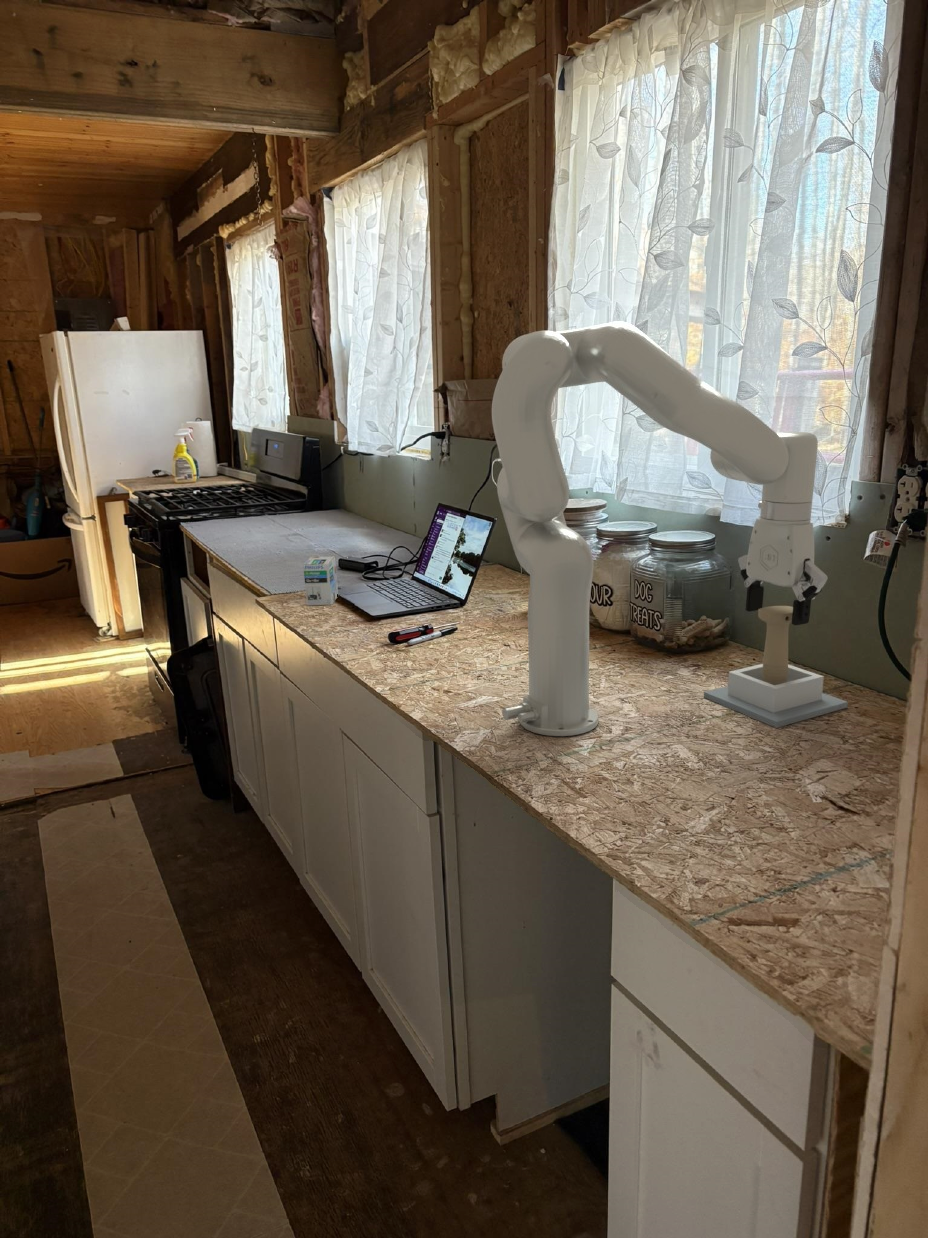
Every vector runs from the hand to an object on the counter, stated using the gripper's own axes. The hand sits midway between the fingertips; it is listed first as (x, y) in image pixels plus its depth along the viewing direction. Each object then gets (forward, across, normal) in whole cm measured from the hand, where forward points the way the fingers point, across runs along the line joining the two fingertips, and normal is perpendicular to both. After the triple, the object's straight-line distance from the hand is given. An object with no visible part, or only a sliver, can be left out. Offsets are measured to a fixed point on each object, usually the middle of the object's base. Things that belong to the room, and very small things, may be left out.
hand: (776, 616), depth 142 cm
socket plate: (+15, 0, +1) cm, 15 cm away
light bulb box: (+17, -113, -39) cm, 121 cm away
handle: (+14, 0, +1) cm, 14 cm away
